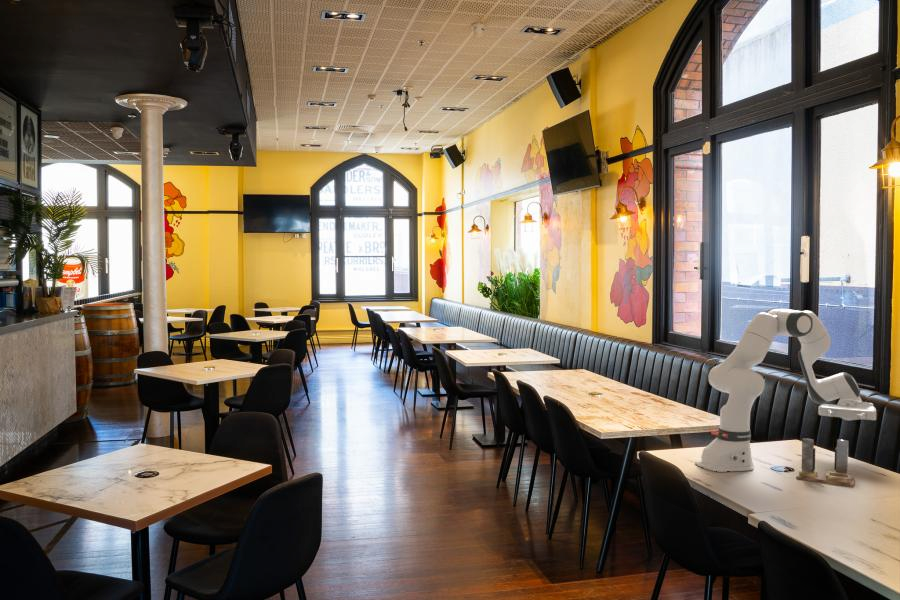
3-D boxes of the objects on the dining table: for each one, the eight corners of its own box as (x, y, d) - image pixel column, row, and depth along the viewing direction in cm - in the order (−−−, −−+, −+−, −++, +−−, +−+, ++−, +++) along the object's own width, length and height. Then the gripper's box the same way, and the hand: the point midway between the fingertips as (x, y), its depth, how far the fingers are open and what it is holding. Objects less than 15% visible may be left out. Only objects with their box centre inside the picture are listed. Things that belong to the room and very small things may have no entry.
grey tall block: (834, 475, 266) (835, 439, 266) (834, 473, 269) (835, 438, 268) (846, 477, 264) (847, 441, 263) (847, 475, 267) (848, 439, 266)
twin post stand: (796, 478, 262) (796, 440, 261) (799, 473, 269) (800, 435, 269) (853, 487, 252) (854, 447, 251) (855, 480, 259) (856, 441, 259)
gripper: (819, 399, 293) (815, 405, 281) (877, 403, 281) (875, 410, 270) (819, 414, 293) (815, 421, 282) (877, 419, 282) (875, 426, 270)
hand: (845, 416), depth 276 cm, fingers open, 8 cm apart
